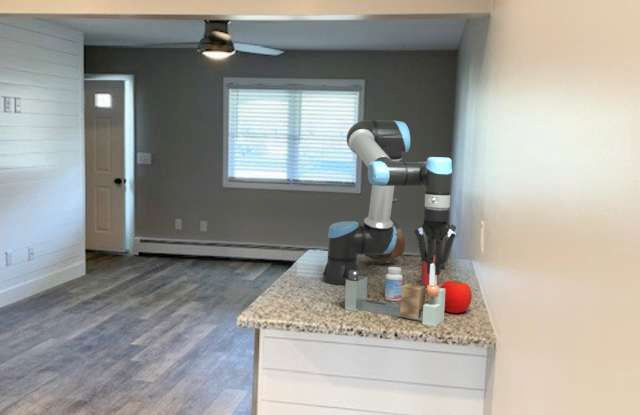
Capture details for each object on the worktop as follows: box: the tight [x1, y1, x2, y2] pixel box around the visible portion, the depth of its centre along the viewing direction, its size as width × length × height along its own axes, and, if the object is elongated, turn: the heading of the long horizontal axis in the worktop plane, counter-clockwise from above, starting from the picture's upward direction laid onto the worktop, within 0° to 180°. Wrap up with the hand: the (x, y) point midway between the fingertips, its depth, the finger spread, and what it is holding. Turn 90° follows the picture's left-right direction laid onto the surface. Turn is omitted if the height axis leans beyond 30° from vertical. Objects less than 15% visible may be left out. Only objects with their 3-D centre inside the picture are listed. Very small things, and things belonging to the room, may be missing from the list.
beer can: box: [420, 255, 440, 288], centre depth 234 cm, size 7×7×12 cm
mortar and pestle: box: [434, 224, 457, 269], centre depth 270 cm, size 12×9×20 cm
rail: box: [344, 269, 423, 322], centre depth 195 cm, size 27×8×13 cm, turn 60°
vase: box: [363, 198, 406, 265], centre depth 272 cm, size 23×19×30 cm
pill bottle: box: [384, 266, 404, 302], centre depth 213 cm, size 6×6×11 cm
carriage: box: [400, 283, 426, 319], centre depth 191 cm, size 6×5×10 cm
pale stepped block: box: [421, 287, 445, 327], centre depth 187 cm, size 4×9×10 cm, turn 150°
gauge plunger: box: [426, 284, 440, 302], centre depth 185 cm, size 3×3×5 cm
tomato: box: [440, 280, 473, 314], centre depth 199 cm, size 10×11×11 cm
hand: (433, 284), depth 184 cm, fingers closed
